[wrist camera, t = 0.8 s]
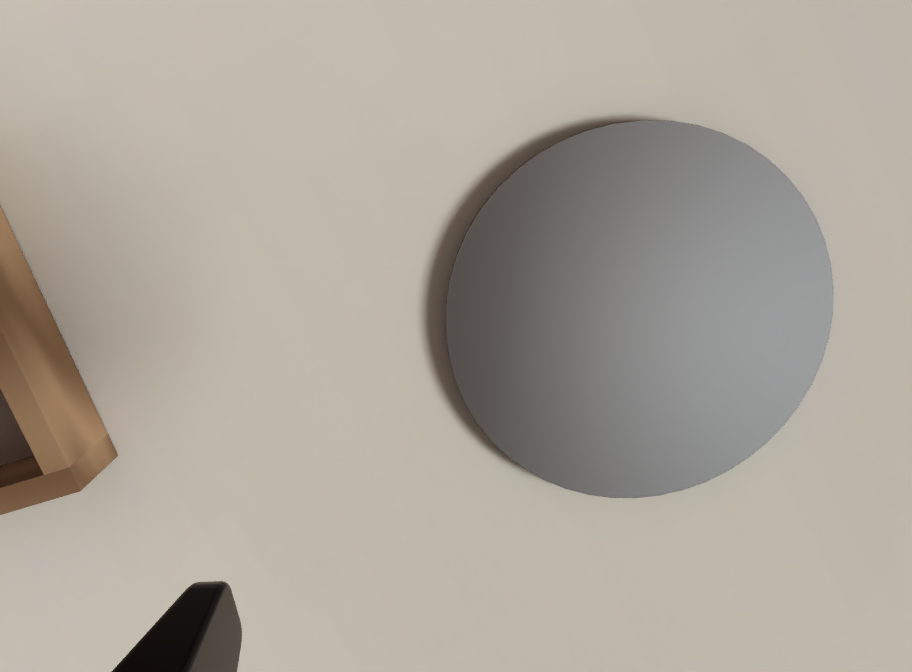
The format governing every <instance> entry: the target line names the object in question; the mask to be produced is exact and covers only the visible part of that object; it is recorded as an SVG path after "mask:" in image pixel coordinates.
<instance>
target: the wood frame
mask: <svg viewBox="0 0 912 672" xmlns="http://www.w3.org/2000/svg"><path fill="white" fill-rule="evenodd" d="M0 389H1V391H2V393H3V395H4V397H5V399H6V401H7V403H8V405H9V407H10V409H11V411H12V413H13V415H14V417H15V419H16V421H17V423H18V425H19V427H20V429H21V431H22V432H23V434H24V436H25V438H26V440H27V442H28V444H29V446H30V448H31V450H32V452H33V454H34V457H31V458H27V459H24V460H21V461H17V462H14V463H11V464H7V465H4V466H1V467H0V515H2V514H5V513H8V512H12V511H15V510H18V509H22V508H25V507H28V506H32V505H35V504H39V503H42V502H45V501H49V500H52V499H55V498H59V497H62V496H65V495H69V494H72V493H76V492H79V491H81V490H82V489H83V488H84V487H85V486H86V485H87V484H88V483H90V482H91V481H92V480H93V479H94V478H95V477H96V476H97V475H98V474H99V473H100V472H101V471H102V470H103V469H104V468H105V467H106V466H107V465H109V464H110V463H111V462H112V461H113V460H114V459H115V458H116V457H117V456H118V454H117V452H116V450H115V448H114V446H113V444H112V442H111V440H110V437H109V435H108V433H107V431H106V429H105V427H104V425H103V423H102V420H101V418H100V416H99V414H98V412H97V410H96V408H95V406H94V403H93V401H92V399H91V397H90V395H89V393H88V391H87V389H86V387H85V384H84V382H83V380H82V378H81V376H80V374H79V372H78V370H77V367H76V365H75V363H74V361H73V359H72V357H71V355H70V353H69V350H68V348H67V346H66V344H65V342H64V340H63V338H62V336H61V334H60V331H59V329H58V327H57V325H56V323H55V321H54V319H53V317H52V314H51V312H50V310H49V308H48V306H47V304H46V302H45V300H44V297H43V295H42V293H41V291H40V289H39V287H38V285H37V283H36V281H35V278H34V276H33V274H32V272H31V270H30V268H29V266H28V264H27V261H26V259H25V257H24V255H23V253H22V251H21V249H20V247H19V244H18V242H17V240H16V238H15V236H14V234H13V232H12V230H11V228H10V225H9V223H8V221H7V219H6V217H5V215H4V213H3V211H2V208H1V206H0Z"/></svg>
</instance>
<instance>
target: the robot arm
mask: <svg viewBox="0 0 912 672" xmlns="http://www.w3.org/2000/svg"><path fill="white" fill-rule="evenodd" d="M241 640H242V628H241V622H240V619H239V615H238V612H237V608H236V605H235V601H234V598H233V594H232V591H231V588H230V586H229V585H228V584H227V583H226V582H223V581H215V582H197V583H194V584H192V585H191V586H190V587H188V588H187V589H186V590H185V592H184V593H183V594H182V595H181V596H180V597H179V598H178V599H177V600H176V601H175V603H174V604H173V605H172V606H171V607H170V608H169V609H168V610H167V611H166V612H165V614H164V615H163V616H162V617H161V618H160V619H159V620H158V621H157V622H156V624H155V625H154V626H153V627H152V628H151V629H150V630H149V631H148V632H147V633H146V635H145V636H144V637H143V638H142V639H141V640H140V641H139V642H138V643H137V644H136V646H135V647H134V648H133V649H132V650H131V651H130V652H129V653H128V654H127V655H126V657H125V658H124V659H123V660H122V661H121V662H120V663H119V664H118V665H117V667H116V668H115V669H114V670H113V671H112V672H237V667H238V661H239V655H240V648H241Z"/></svg>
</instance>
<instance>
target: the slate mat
mask: <svg viewBox="0 0 912 672" xmlns="http://www.w3.org/2000/svg"><path fill="white" fill-rule="evenodd" d="M832 315H833V279H832V270H831V263H830V259H829V255H828V251H827V247H826V243H825V239H824V237H823V235H822V232H821V230H820V227H819V225H818V222H817V220H816V218H815V216H814V214H813V212H812V211H811V209H810V207H809V206H808V204H807V202H806V201H805V199H804V197H803V195H802V194H801V193H800V192H799V191H798V189H797V188H796V187H795V186H794V184H793V183H792V182H791V181H790V179H789V178H788V177H787V176H786V175H785V174H784V173H783V172H782V171H781V170H780V169H778V168H777V167H776V166H775V165H774V164H773V163H772V162H771V161H770V160H769V159H767V158H766V157H764V156H763V155H762V154H760V153H759V152H757V151H756V150H754V149H753V148H751V147H750V146H748V145H747V144H745V143H743V142H740V141H738V140H736V139H734V138H732V137H730V136H728V135H726V134H724V133H721V132H718V131H715V130H711V129H708V128H705V127H702V126H699V125H693V124H687V123H681V122H675V121H652V120H642V121H634V122H625V123H617V124H610V125H606V126H603V127H599V128H595V129H591V130H587V131H584V132H582V133H579V134H577V135H574V136H572V137H569V138H567V139H564V140H562V141H560V142H558V143H556V144H554V145H553V146H551V147H549V148H547V149H545V150H544V151H542V152H540V153H538V154H537V155H535V156H534V157H533V158H531V159H530V160H529V161H527V162H526V163H525V164H523V165H522V166H521V167H519V168H518V169H517V170H516V171H514V172H513V173H512V174H511V175H510V176H509V177H508V178H507V179H506V180H505V181H504V182H503V183H502V184H501V185H500V186H499V187H498V188H497V189H496V190H495V192H494V193H493V194H492V195H491V197H490V198H489V199H488V200H487V202H486V203H485V204H484V205H483V207H482V208H481V209H480V211H479V213H478V214H477V216H476V217H475V219H474V221H473V222H472V224H471V226H470V227H469V229H468V231H467V233H466V235H465V237H464V240H463V242H462V244H461V247H460V249H459V251H458V253H457V256H456V260H455V263H454V267H453V270H452V273H451V277H450V282H449V289H448V295H447V302H446V337H447V345H448V353H449V359H450V362H451V366H452V370H453V374H454V378H455V381H456V383H457V386H458V388H459V390H460V393H461V395H462V398H463V400H464V402H465V404H466V405H467V407H468V409H469V411H470V412H471V414H472V416H473V417H474V419H475V421H476V422H477V423H478V425H479V426H480V427H481V429H482V430H483V431H484V432H485V434H486V435H487V436H488V438H489V439H490V440H491V441H492V442H493V443H494V444H495V445H496V446H497V447H498V448H499V449H500V450H501V451H502V452H503V453H504V454H506V455H507V456H508V457H509V458H511V459H512V460H513V461H515V462H516V463H517V464H519V465H520V466H521V467H523V468H524V469H526V470H527V471H529V472H531V473H533V474H535V475H536V476H538V477H540V478H542V479H544V480H546V481H548V482H551V483H553V484H556V485H558V486H561V487H563V488H566V489H569V490H573V491H577V492H581V493H584V494H588V495H595V496H603V497H610V498H640V497H649V496H659V495H663V494H668V493H672V492H676V491H681V490H684V489H687V488H690V487H693V486H696V485H698V484H701V483H704V482H707V481H709V480H711V479H713V478H715V477H717V476H719V475H721V474H723V473H725V472H727V471H729V470H730V469H732V468H733V467H735V466H736V465H738V464H740V463H741V462H743V461H744V460H746V459H747V458H749V457H750V456H751V455H752V454H754V453H755V452H756V451H757V450H759V449H760V448H761V447H762V446H763V445H765V444H766V443H767V442H768V441H769V440H770V439H771V438H772V437H773V436H774V435H775V434H776V433H777V432H778V431H779V430H780V429H781V428H782V427H783V426H784V425H785V423H786V422H787V421H788V419H789V418H790V417H791V415H792V414H793V413H794V412H795V410H796V409H797V408H798V406H799V405H800V403H801V402H802V400H803V398H804V396H805V395H806V393H807V391H808V390H809V388H810V386H811V385H812V383H813V380H814V378H815V376H816V374H817V371H818V369H819V367H820V364H821V362H822V359H823V356H824V352H825V349H826V346H827V342H828V339H829V334H830V328H831V321H832Z"/></svg>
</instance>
